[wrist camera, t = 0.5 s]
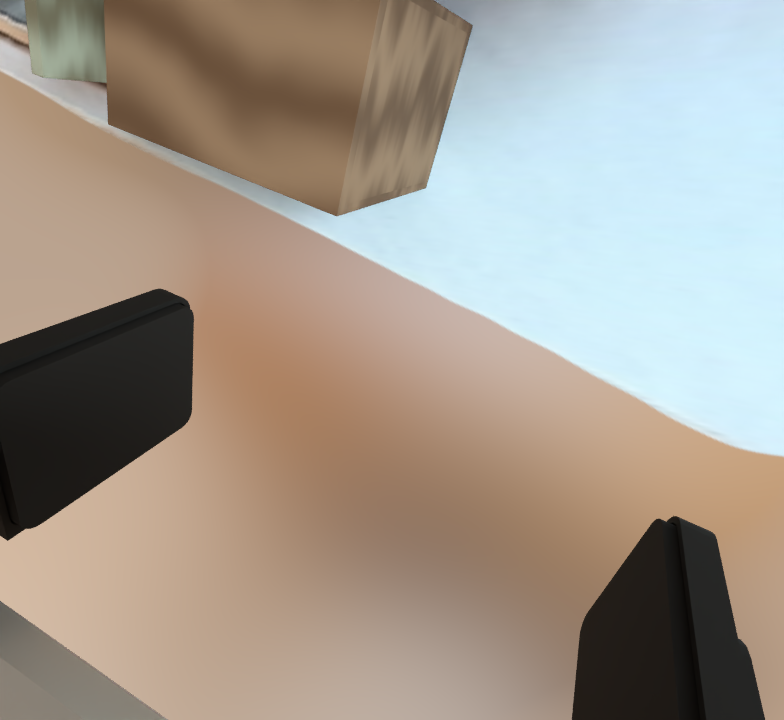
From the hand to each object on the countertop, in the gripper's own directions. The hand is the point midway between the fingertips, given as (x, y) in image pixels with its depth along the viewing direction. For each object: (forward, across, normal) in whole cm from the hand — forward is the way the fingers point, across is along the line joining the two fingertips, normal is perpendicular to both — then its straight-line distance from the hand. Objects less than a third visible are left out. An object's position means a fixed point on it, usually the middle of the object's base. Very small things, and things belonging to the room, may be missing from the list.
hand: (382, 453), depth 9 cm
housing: (+35, +20, -4) cm, 41 cm away
